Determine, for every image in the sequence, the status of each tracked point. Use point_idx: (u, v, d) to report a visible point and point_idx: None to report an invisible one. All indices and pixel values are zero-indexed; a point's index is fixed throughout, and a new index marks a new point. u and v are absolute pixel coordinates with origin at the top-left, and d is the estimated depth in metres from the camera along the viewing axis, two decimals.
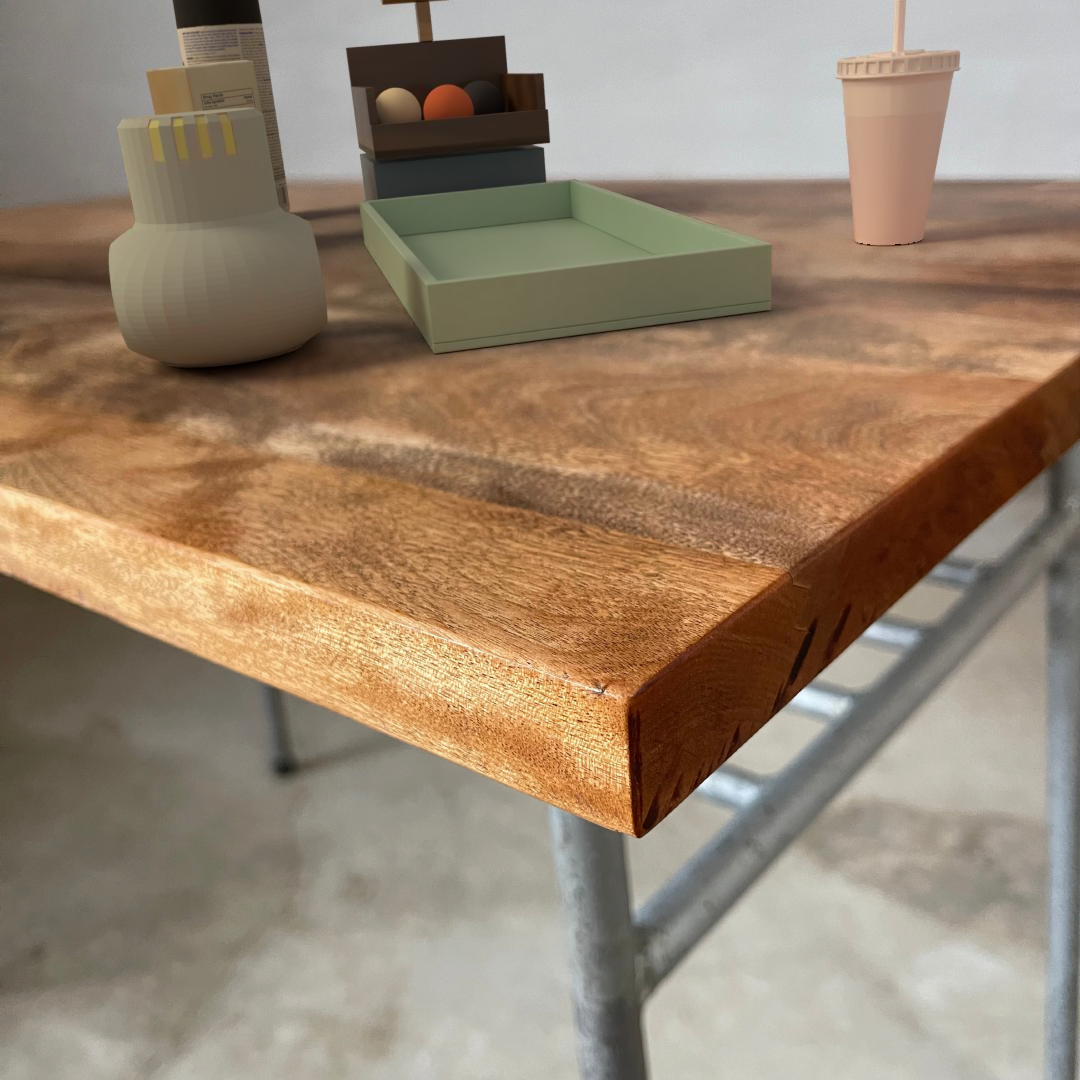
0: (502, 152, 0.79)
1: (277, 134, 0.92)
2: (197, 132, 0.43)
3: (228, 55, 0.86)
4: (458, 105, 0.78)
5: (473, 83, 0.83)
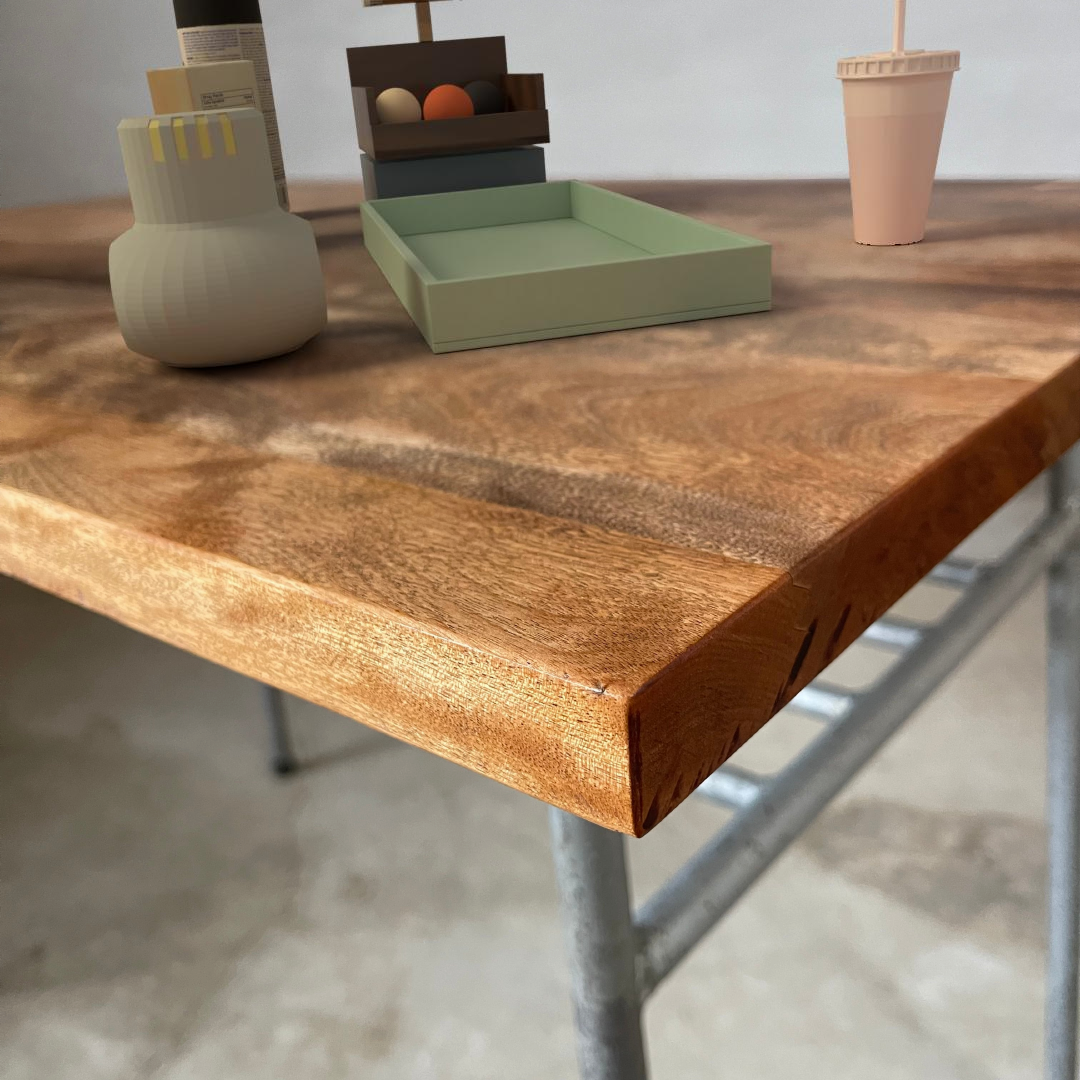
0: (502, 152, 0.79)
1: (277, 134, 0.92)
2: (197, 132, 0.43)
3: (228, 55, 0.86)
4: (458, 105, 0.78)
5: (473, 83, 0.83)
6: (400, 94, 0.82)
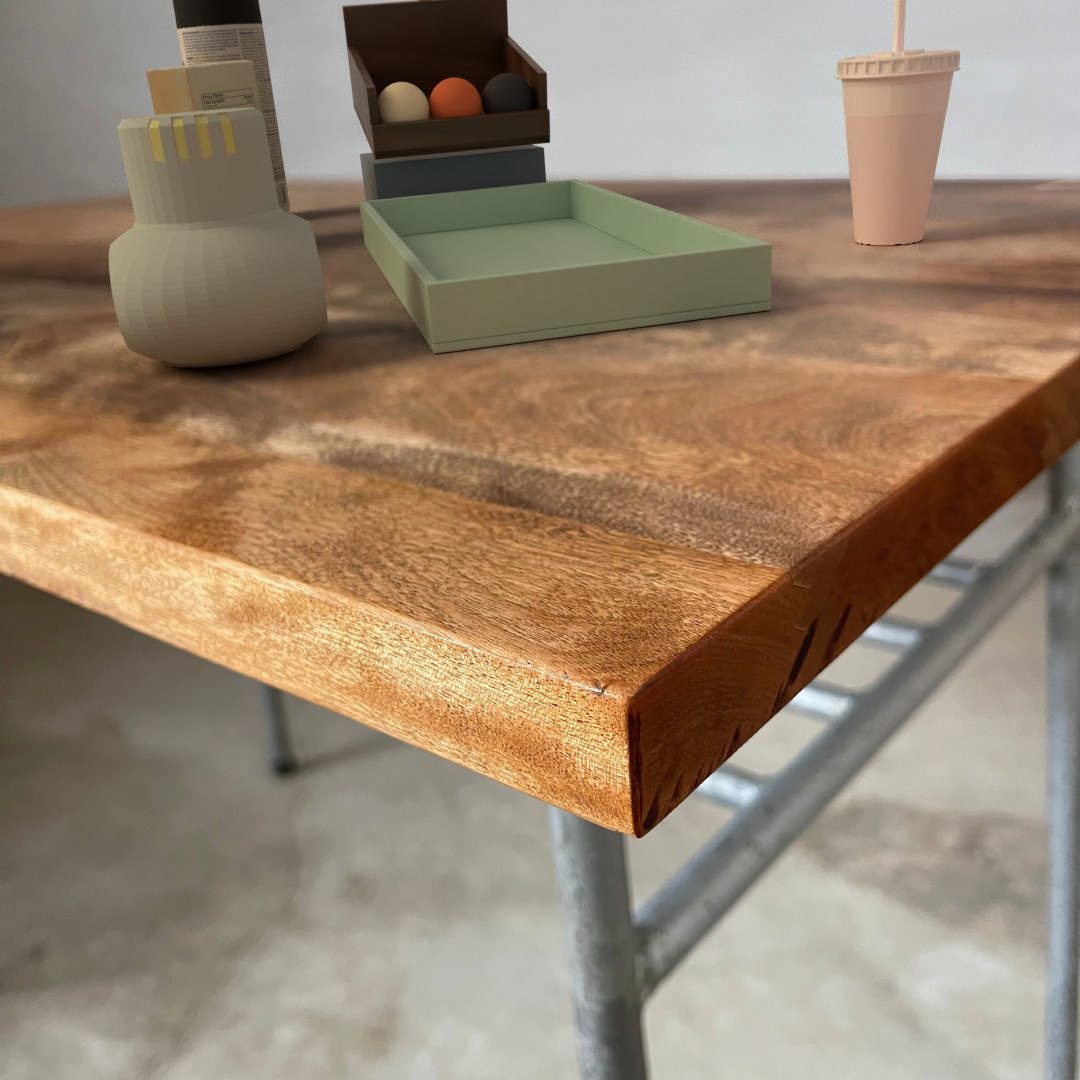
0: (502, 152, 0.79)
1: (277, 134, 0.92)
2: (198, 132, 0.43)
3: (228, 55, 0.86)
4: None
5: None
6: None
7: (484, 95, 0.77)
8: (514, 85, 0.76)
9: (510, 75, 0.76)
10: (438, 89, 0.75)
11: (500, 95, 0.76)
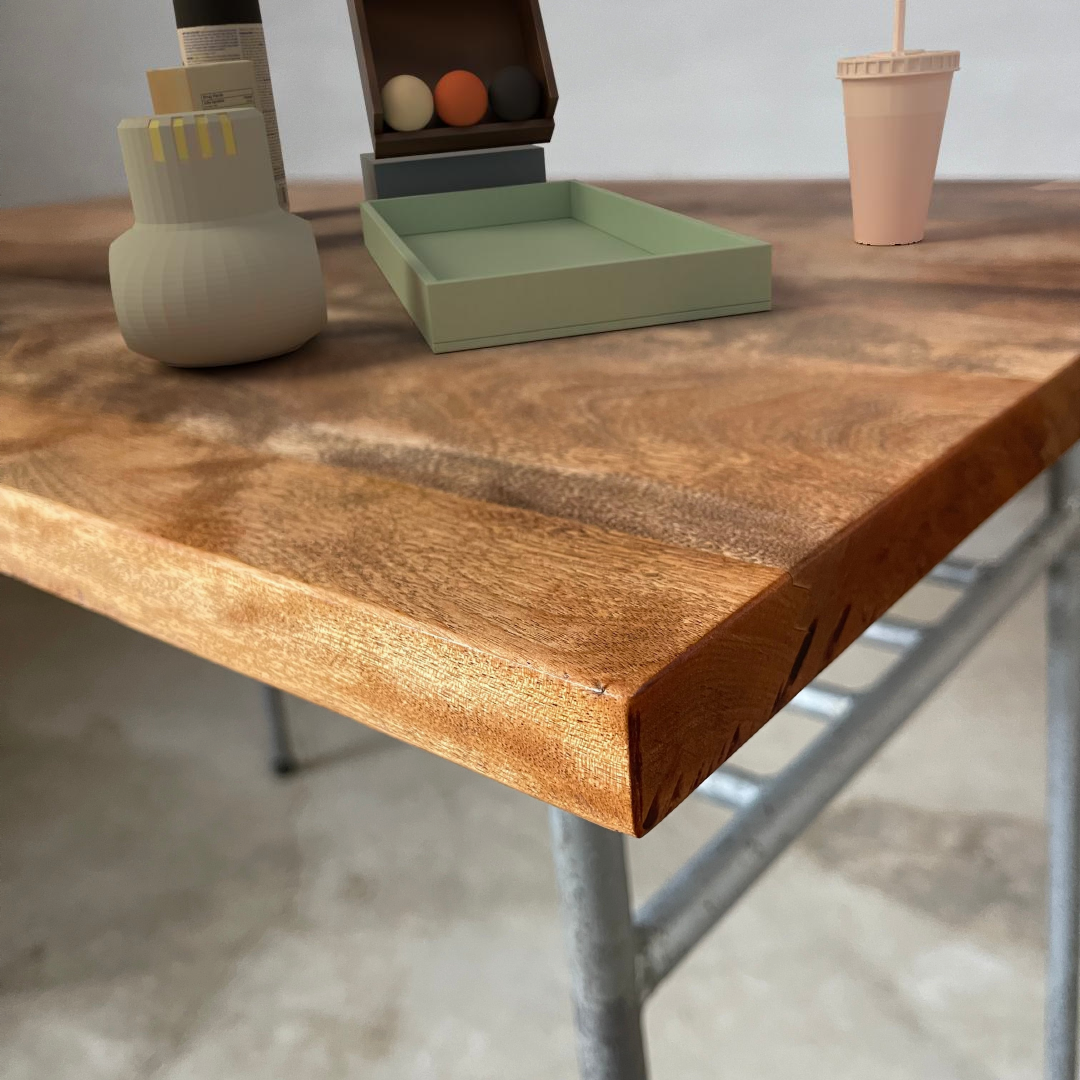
0: (502, 152, 0.79)
1: (277, 134, 0.92)
2: (198, 132, 0.43)
3: (228, 55, 0.86)
4: None
5: None
6: None
7: (491, 95, 0.74)
8: (524, 99, 0.74)
9: (521, 83, 0.73)
10: (446, 95, 0.73)
11: (508, 107, 0.74)
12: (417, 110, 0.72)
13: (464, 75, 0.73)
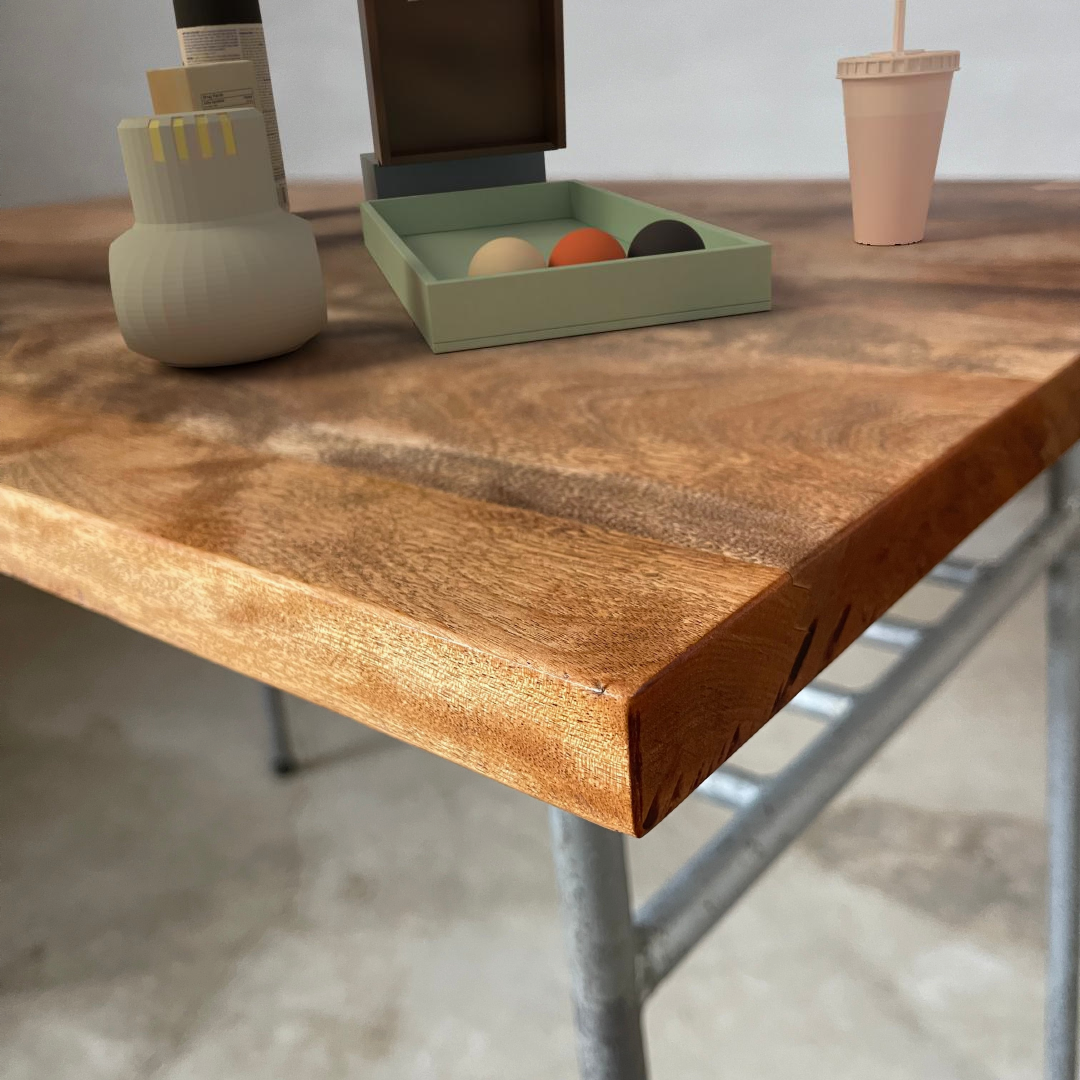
0: None
1: (277, 134, 0.92)
2: (198, 132, 0.43)
3: (228, 55, 0.86)
4: None
5: None
6: None
7: (629, 250, 0.50)
8: (673, 220, 0.50)
9: None
10: None
11: (653, 231, 0.49)
12: (516, 239, 0.48)
13: None
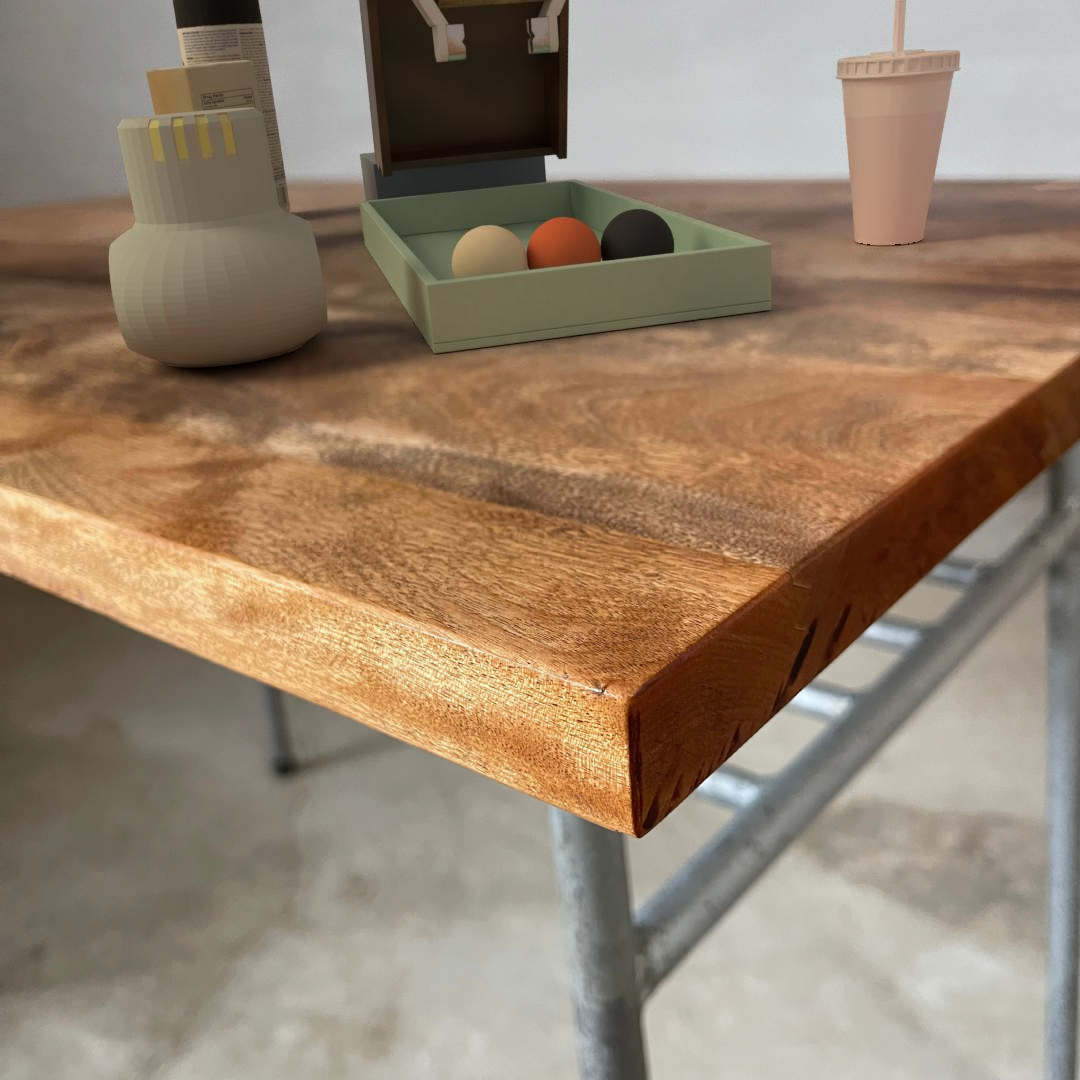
0: None
1: (277, 134, 0.92)
2: (198, 132, 0.43)
3: (228, 55, 0.86)
4: None
5: (632, 240, 0.53)
6: (504, 269, 0.51)
7: None
8: None
9: None
10: None
11: None
12: None
13: None
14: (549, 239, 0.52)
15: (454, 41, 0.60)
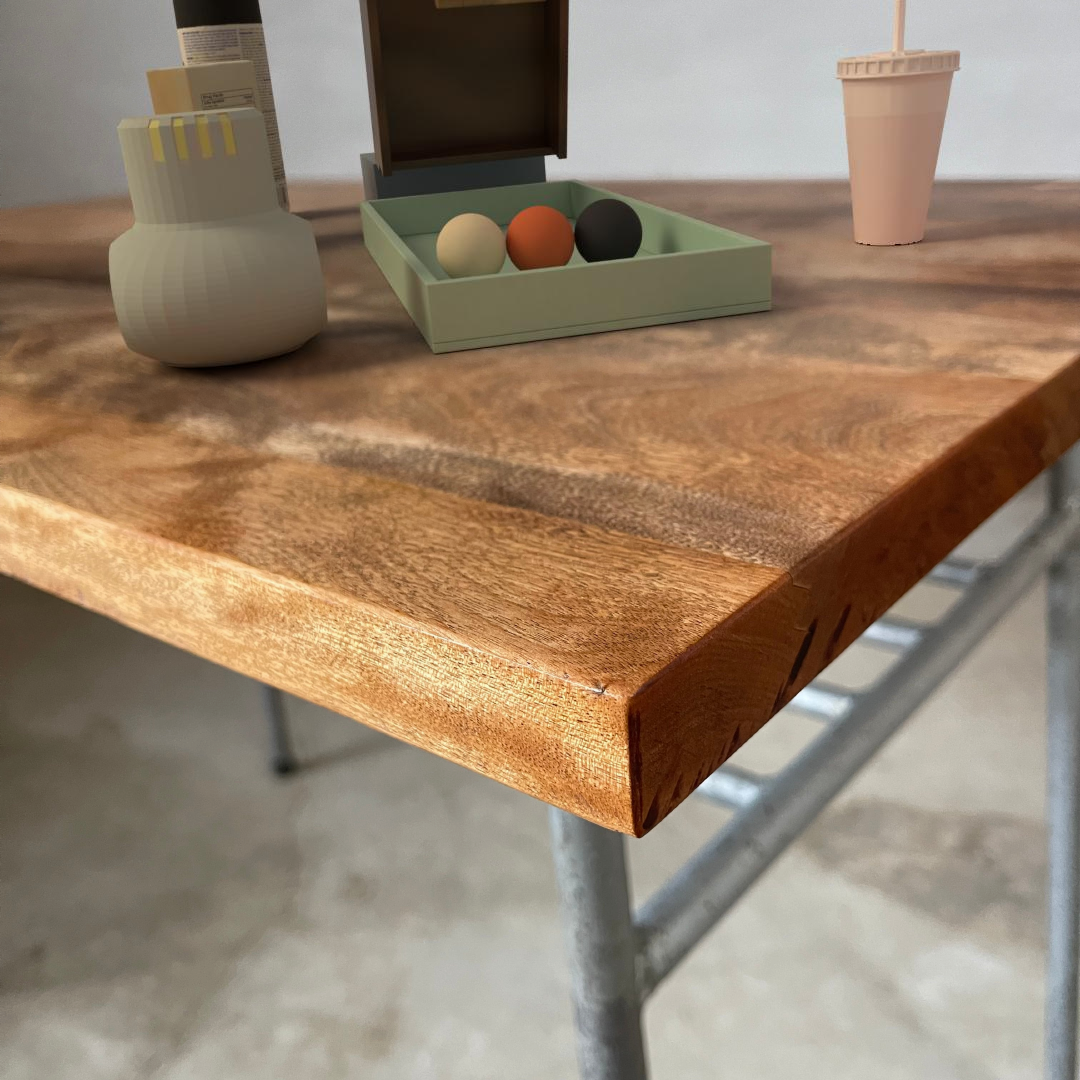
0: None
1: (277, 134, 0.92)
2: (198, 132, 0.43)
3: (228, 55, 0.86)
4: None
5: None
6: None
7: (579, 230, 0.58)
8: (621, 224, 0.57)
9: (616, 207, 0.57)
10: (521, 227, 0.57)
11: (602, 237, 0.57)
12: (485, 242, 0.56)
13: (542, 207, 0.57)
14: None
15: None
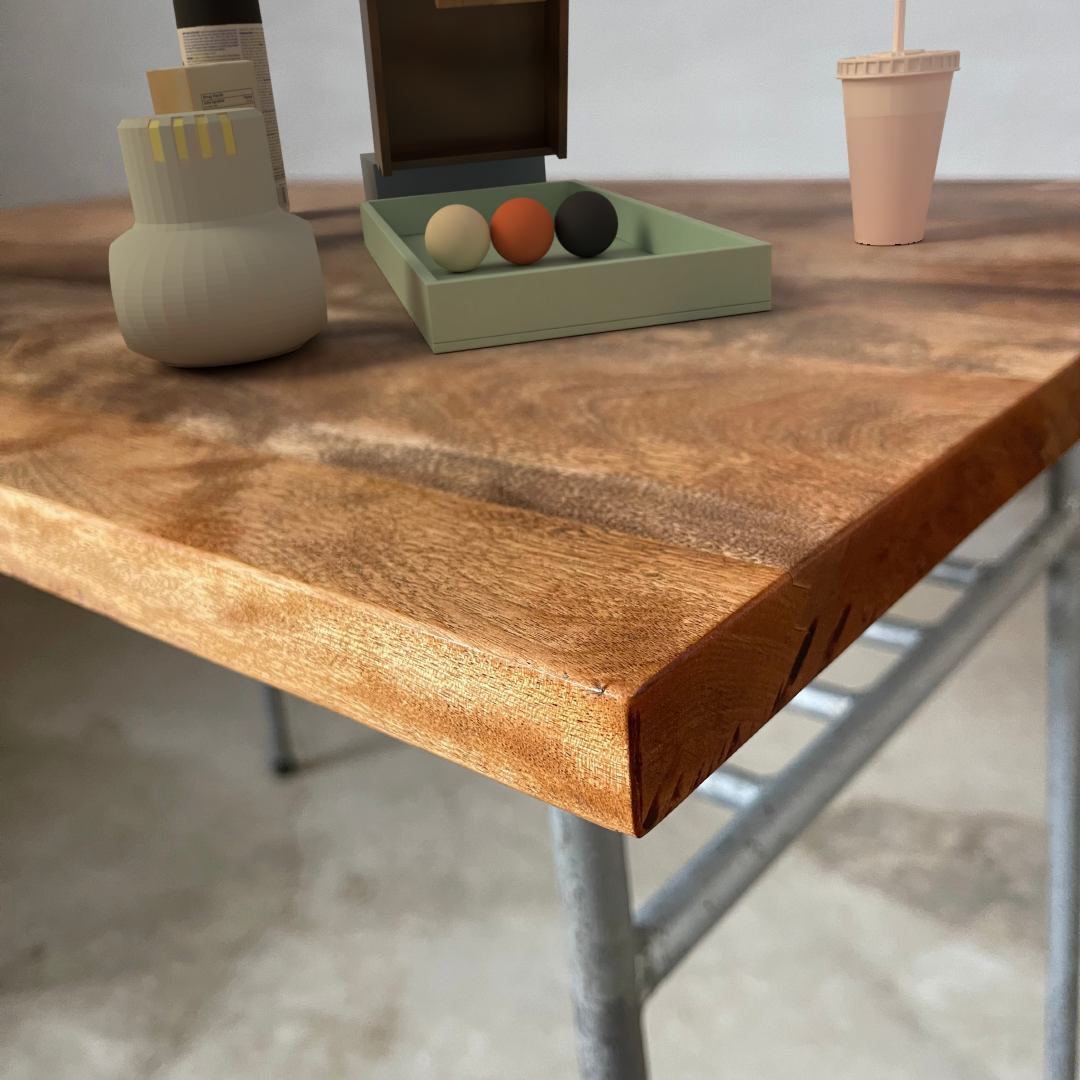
0: None
1: (277, 134, 0.92)
2: (197, 132, 0.43)
3: (228, 55, 0.86)
4: (535, 214, 0.60)
5: (580, 248, 0.62)
6: (469, 268, 0.61)
7: (554, 225, 0.63)
8: None
9: None
10: None
11: None
12: None
13: None
14: (512, 246, 0.61)
15: None
